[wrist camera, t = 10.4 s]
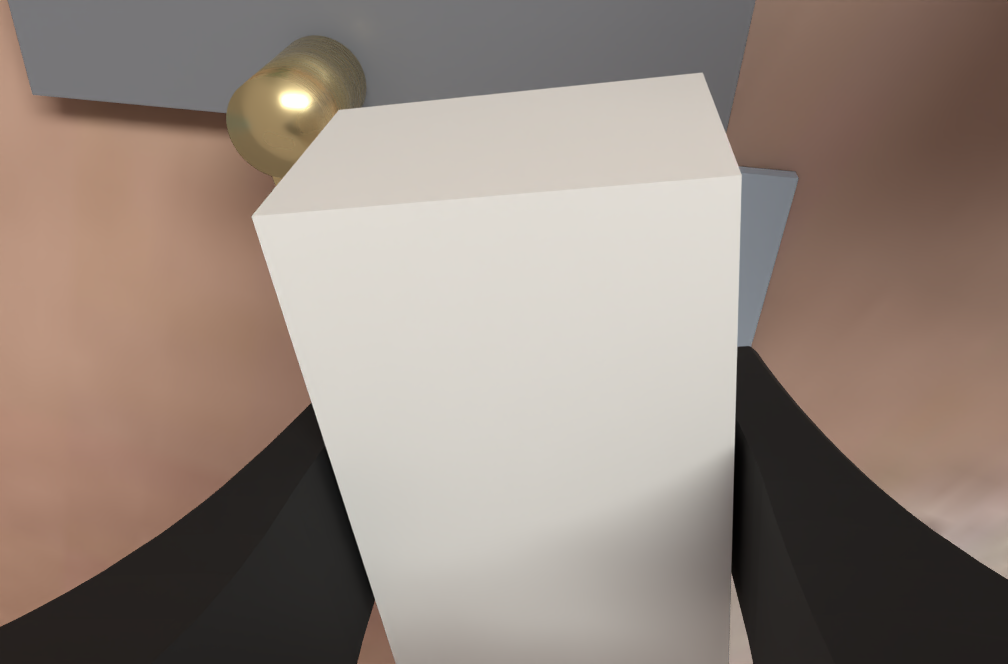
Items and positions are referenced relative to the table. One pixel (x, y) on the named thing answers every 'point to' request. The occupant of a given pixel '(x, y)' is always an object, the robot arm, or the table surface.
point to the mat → (760, 239)
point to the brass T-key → (293, 102)
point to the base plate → (375, 45)
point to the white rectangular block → (526, 365)
